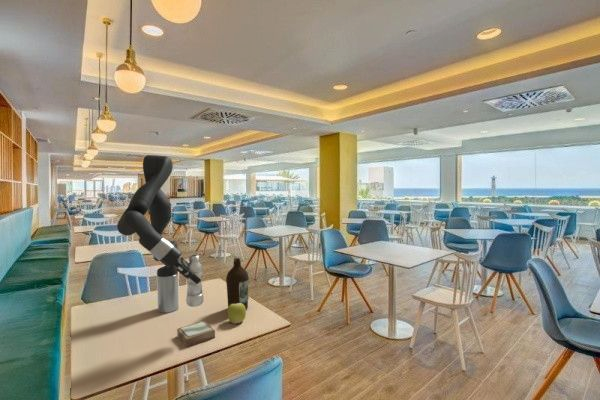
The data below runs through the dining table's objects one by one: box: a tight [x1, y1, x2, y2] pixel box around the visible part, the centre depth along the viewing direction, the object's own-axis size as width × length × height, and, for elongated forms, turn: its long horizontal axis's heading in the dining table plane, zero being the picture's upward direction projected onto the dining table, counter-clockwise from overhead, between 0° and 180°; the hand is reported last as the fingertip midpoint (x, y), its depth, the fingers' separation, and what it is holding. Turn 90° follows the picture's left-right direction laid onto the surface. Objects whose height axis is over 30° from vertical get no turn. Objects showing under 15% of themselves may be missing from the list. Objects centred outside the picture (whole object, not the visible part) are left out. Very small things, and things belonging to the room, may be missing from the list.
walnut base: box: [176, 320, 216, 348], centre depth 123 cm, size 11×11×3 cm
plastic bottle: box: [185, 254, 205, 308], centre depth 122 cm, size 6×7×20 cm
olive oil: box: [225, 256, 250, 311], centre depth 149 cm, size 11×11×25 cm
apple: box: [226, 301, 247, 325], centre depth 136 cm, size 8×8×10 cm
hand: (198, 279), depth 122 cm, fingers closed on plastic bottle, 6 cm apart
